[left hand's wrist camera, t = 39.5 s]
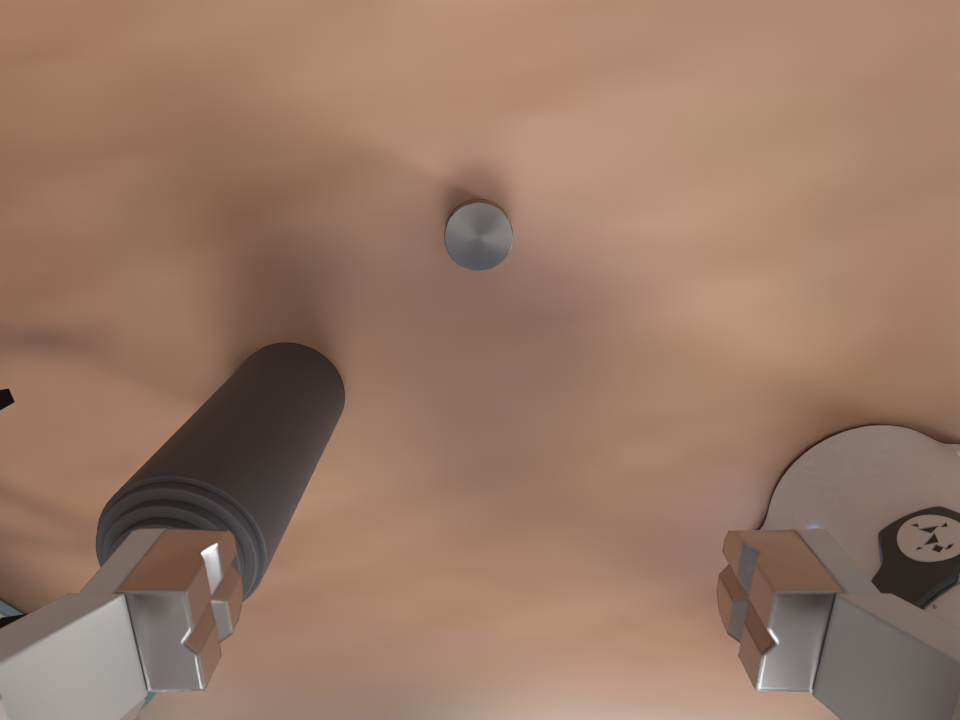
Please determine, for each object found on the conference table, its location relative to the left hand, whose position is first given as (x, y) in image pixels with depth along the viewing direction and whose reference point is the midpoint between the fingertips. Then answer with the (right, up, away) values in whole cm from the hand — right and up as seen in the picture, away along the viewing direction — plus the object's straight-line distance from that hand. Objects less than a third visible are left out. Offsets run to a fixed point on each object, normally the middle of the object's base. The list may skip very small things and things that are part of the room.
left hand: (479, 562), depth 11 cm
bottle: (-14, +1, +36) cm, 39 cm away
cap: (0, +11, +31) cm, 33 cm away
